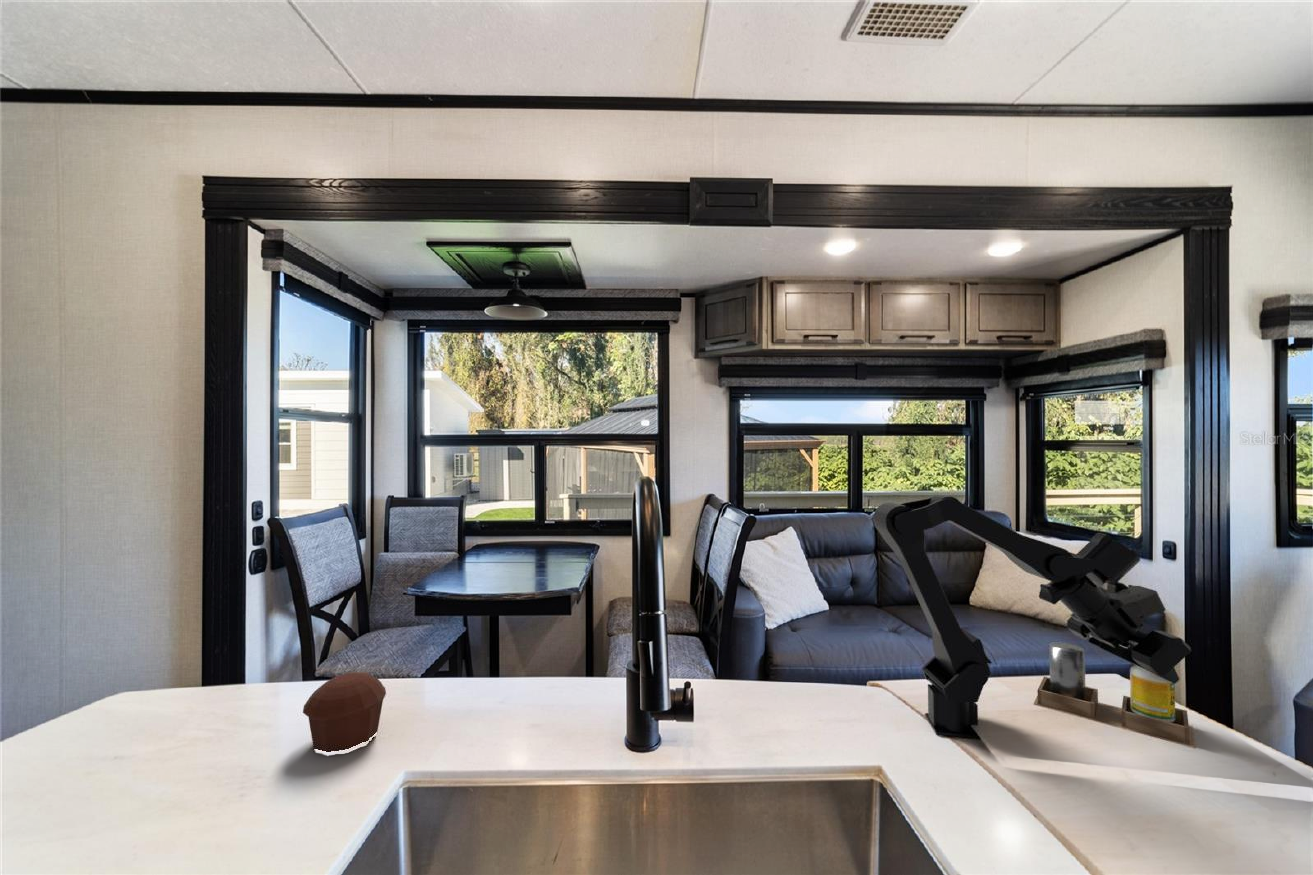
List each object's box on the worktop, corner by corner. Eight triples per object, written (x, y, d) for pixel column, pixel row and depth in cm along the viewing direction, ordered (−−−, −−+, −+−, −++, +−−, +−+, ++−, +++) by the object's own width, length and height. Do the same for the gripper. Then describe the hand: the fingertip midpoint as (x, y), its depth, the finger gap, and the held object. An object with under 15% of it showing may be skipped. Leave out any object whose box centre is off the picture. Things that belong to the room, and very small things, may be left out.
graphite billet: (1060, 709, 91) (1058, 651, 92) (1044, 696, 96) (1043, 641, 97) (1092, 711, 90) (1091, 653, 91) (1075, 698, 95) (1074, 643, 96)
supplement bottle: (1127, 705, 90) (1126, 648, 90) (1171, 713, 86) (1169, 655, 87) (1134, 718, 85) (1132, 658, 85) (1179, 727, 82) (1178, 666, 82)
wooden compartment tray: (1192, 735, 86) (1191, 710, 86) (1195, 758, 79) (1194, 731, 79) (1041, 695, 100) (1040, 674, 100) (1033, 712, 93) (1032, 689, 93)
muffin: (351, 717, 91) (352, 659, 91) (401, 728, 87) (402, 668, 88) (283, 754, 80) (285, 688, 80) (337, 768, 76) (338, 699, 77)
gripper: (1176, 584, 77) (1258, 663, 76) (1083, 559, 96) (1148, 622, 95) (1120, 635, 78) (1201, 714, 77) (1038, 600, 96) (1103, 663, 95)
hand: (1160, 673), depth 86 cm, fingers closed on supplement bottle, 5 cm apart
